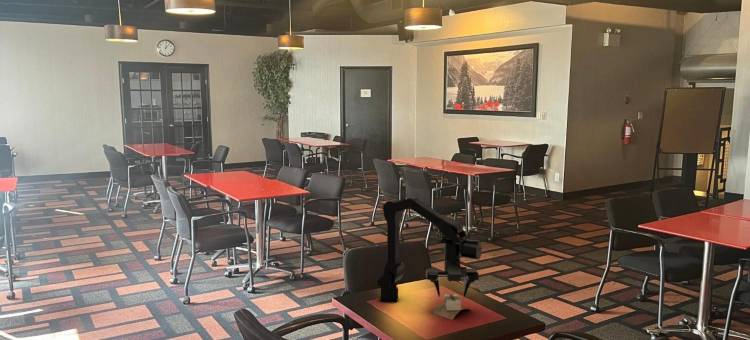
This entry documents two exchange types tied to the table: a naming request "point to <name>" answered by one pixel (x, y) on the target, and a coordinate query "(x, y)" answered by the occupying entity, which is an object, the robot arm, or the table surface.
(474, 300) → the table surface
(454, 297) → the taped cardboard box
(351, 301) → the table surface
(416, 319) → the table surface
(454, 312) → the clay tablet
